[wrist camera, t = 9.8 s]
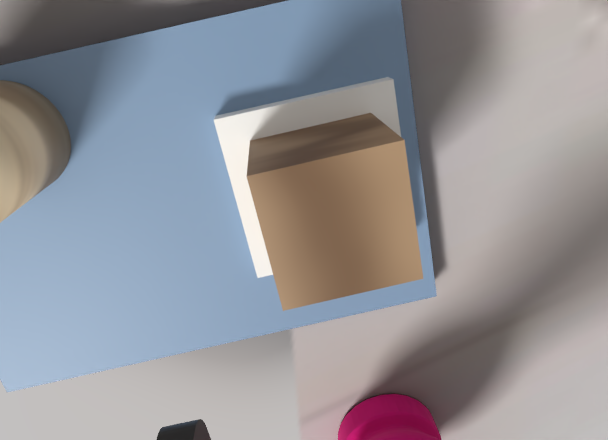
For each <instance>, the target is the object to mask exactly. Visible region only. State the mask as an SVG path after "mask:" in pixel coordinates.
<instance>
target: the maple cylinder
mask: <svg viewBox="0 0 608 440" xmlns="http://www.w3.org/2000/svg"><path fill="white" fill-rule="evenodd" d="M70 153H71V139H70V134H69V131H68V127H67V125H66V123H65V121H64V118H63V117H62V115H61V114H60V112H59V111H58V109H57V108H56V107H55V106H54V105H53V104H52V103H51V102H50V101H49V100H48V99H47V98H46V97H45V96H43V95H42V94H41V93H39V92H38V91H36V90H34V89H32V88H30V87H28V86H26V85H23V84H21V83H17V82H13V81H6V80H0V222H2V221H3V220H4V219H6V218H7V217H8V216H10V215H11V214H12V213H13V212H15V211H16V210H17V209H19V208H20V207H21V206H23V205H24V204H25V203H27V202H28V201H29V200H31V199H32V198H33V197H34V196H36V195H37V194H38V193H40V192H41V191H42V190H44V189H45V188H46V187H48V186H49V185H50V184H52V183H53V182H54V181H55V180H56V179H58V178H59V177H60V175H61V174H62V173H63V172H64V170H65V168H66V166H67V164H68V162H69V158H70Z"/></svg>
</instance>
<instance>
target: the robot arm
mask: <svg viewBox="0 0 608 440" xmlns="http://www.w3.org/2000/svg"><path fill="white" fill-rule="evenodd" d="M157 440H211V438H210V436H209V433H208V430H207V427H206V425H205V423H204V422H203V420H201V419H200V420H195V421H190V422H185V423H180V424H176V425H171V426H166V427H162V428H161V429H160V431H159V433H158V437H157Z"/></svg>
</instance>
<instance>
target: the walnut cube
mask: <svg viewBox="0 0 608 440" xmlns="http://www.w3.org/2000/svg"><path fill="white" fill-rule="evenodd" d="M247 180H248V184H249V187H250V191H251V195H252V198H253V202H254V206H255V209H256V213H257V217H258V220H259V224H260V228H261V231H262V235H263V239H264V243H265V246H266V250H267V254H268V257H269V261H270V265H271V268H272V272H273V276H274V279H275V283H276V287H277V290H278V294H279V298H280V302H281V305H282V309H283V311H285V310H289V309H294V308H298V307H302V306H307V305H311V304H315V303H320V302H324V301H329V300H333V299H337V298H342V297H346V296H350V295H355V294H359V293H363V292H368V291H372V290H377V289H381V288H385V287H390V286H394V285H398V284H403V283H407V282H411V281H416V280H420V279H423V271H422V264H421V257H420V250H419V242H418V235H417V228H416V220H415V213H414V206H413V199H412V191H411V184H410V177H409V170H408V162H407V155H406V148H405V140H404V139H403V138H401V137H400V136H399V135H398V134H397V133H395V132H394V131H393V130H392V129H390V128H389V127H388V126H387V125H386V124H384V123H383V122H382V121H381V120H379V119H378V118H377V117H376V116H374V115H373V114H372V113H367V114H363V115H359V116H354V117H350V118H346V119H341V120H337V121H333V122H328V123H324V124H320V125H315V126H311V127H307V128H302V129H298V130H294V131H289V132H285V133H281V134H276V135H272V136H268V137H263V138H259V139H255V140H251V141H250V146H249V156H248V166H247Z"/></svg>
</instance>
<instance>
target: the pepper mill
mask: <svg viewBox="0 0 608 440" xmlns="http://www.w3.org/2000/svg"><path fill="white" fill-rule="evenodd" d="M338 440H441V436H440V434H439V431H438V429H437V426H436V424H435V422H434V419H433V417H432V415H431V413H430V411H429V410H428V409H427V408H426V406H424V405H423V404H422V403H421V402H419V401H418V400H416V399H413V398H411V397H409V396H406V395H399V394H386V395H379V396H376V397H373V398H369V399H366V400H365V401H363V402H361V403H360V404H358V405H356V406H355V407H354V408H353V409H352V410H351V411H350V412H349V413H348V414H347V415H346V416H345V418H344V419H343V421H342V423H341V425H340V428H339V432H338Z"/></svg>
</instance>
